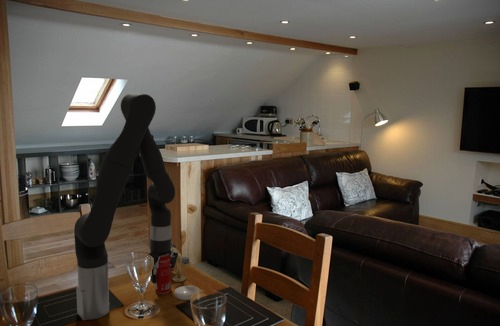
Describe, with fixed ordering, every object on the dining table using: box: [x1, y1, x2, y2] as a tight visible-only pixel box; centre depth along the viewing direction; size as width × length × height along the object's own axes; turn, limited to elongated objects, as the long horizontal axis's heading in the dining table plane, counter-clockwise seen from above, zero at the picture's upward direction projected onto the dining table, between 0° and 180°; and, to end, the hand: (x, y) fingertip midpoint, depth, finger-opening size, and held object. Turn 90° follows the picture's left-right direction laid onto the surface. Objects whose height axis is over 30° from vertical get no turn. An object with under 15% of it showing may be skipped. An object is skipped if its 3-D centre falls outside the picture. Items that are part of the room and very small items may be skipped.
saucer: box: [174, 285, 200, 301], centre depth 145 cm, size 9×9×1 cm
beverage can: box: [154, 253, 172, 295], centre depth 146 cm, size 6×6×15 cm
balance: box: [171, 247, 191, 283], centre depth 156 cm, size 5×13×12 cm, turn 41°
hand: (160, 281), depth 146 cm, fingers closed on beverage can, 4 cm apart
